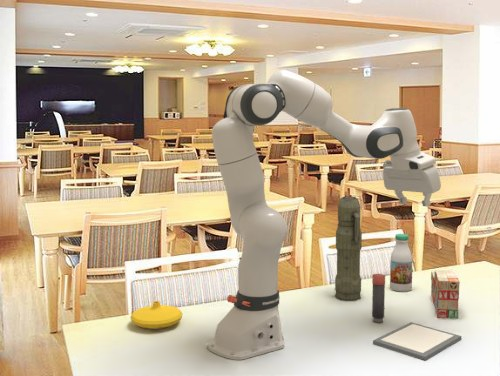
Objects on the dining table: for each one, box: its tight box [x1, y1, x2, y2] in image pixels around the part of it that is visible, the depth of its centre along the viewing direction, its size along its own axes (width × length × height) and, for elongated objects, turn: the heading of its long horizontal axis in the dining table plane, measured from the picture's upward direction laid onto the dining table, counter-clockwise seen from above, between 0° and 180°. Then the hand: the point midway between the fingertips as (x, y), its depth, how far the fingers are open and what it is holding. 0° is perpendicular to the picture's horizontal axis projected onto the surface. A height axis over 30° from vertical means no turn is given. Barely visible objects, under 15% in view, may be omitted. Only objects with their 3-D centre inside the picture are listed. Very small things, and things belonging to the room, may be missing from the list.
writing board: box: [372, 322, 462, 361], centre depth 167 cm, size 20×16×1 cm
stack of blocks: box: [430, 269, 460, 320], centre depth 195 cm, size 21×6×12 cm, turn 169°
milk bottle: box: [389, 233, 413, 293], centre depth 215 cm, size 8×8×20 cm
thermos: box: [334, 196, 363, 302], centre depth 205 cm, size 9×12×35 cm
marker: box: [371, 273, 386, 324], centre depth 183 cm, size 4×4×14 cm
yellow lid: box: [130, 300, 183, 330], centre depth 183 cm, size 16×16×7 cm
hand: (414, 204), depth 180 cm, fingers open, 8 cm apart
